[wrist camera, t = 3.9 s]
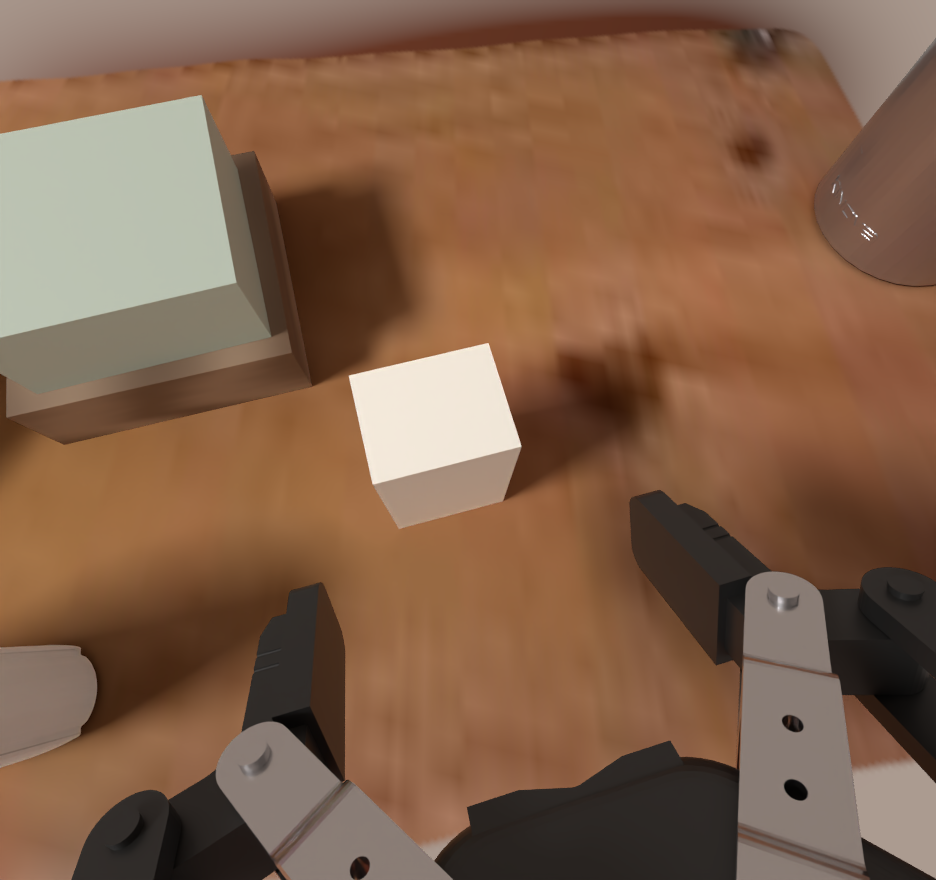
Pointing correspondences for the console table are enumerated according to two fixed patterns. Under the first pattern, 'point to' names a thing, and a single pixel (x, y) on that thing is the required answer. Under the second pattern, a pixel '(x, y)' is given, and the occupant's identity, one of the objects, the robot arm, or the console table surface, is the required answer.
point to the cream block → (437, 434)
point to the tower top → (122, 246)
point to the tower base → (193, 378)
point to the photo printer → (42, 699)
